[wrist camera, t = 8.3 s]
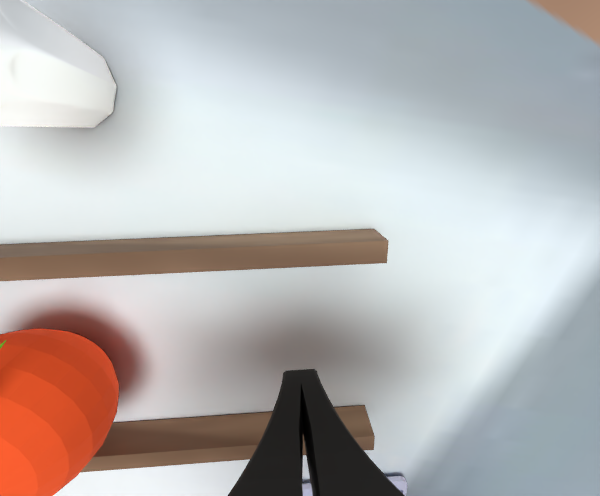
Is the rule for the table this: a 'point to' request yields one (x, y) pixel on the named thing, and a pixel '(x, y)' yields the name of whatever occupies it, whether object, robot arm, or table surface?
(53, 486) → the clementine
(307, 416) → the robot arm
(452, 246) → the table surface
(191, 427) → the lane rails
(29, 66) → the milkshake
